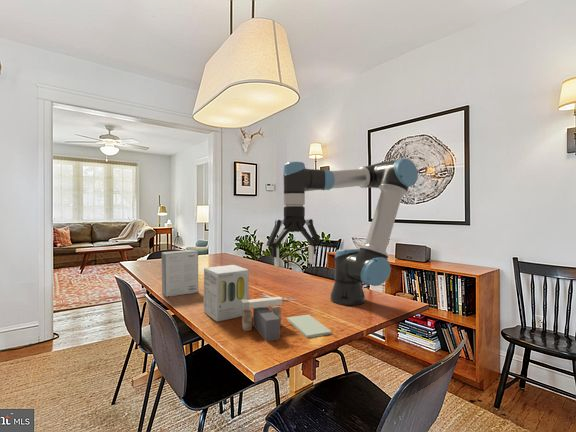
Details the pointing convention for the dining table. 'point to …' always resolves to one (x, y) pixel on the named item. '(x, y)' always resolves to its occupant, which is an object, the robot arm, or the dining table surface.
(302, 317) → the mat
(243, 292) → the supplement box
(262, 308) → the dark gray rectangular block
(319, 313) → the dining table surface
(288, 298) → the scissors
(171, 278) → the hard drive box
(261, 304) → the strap
